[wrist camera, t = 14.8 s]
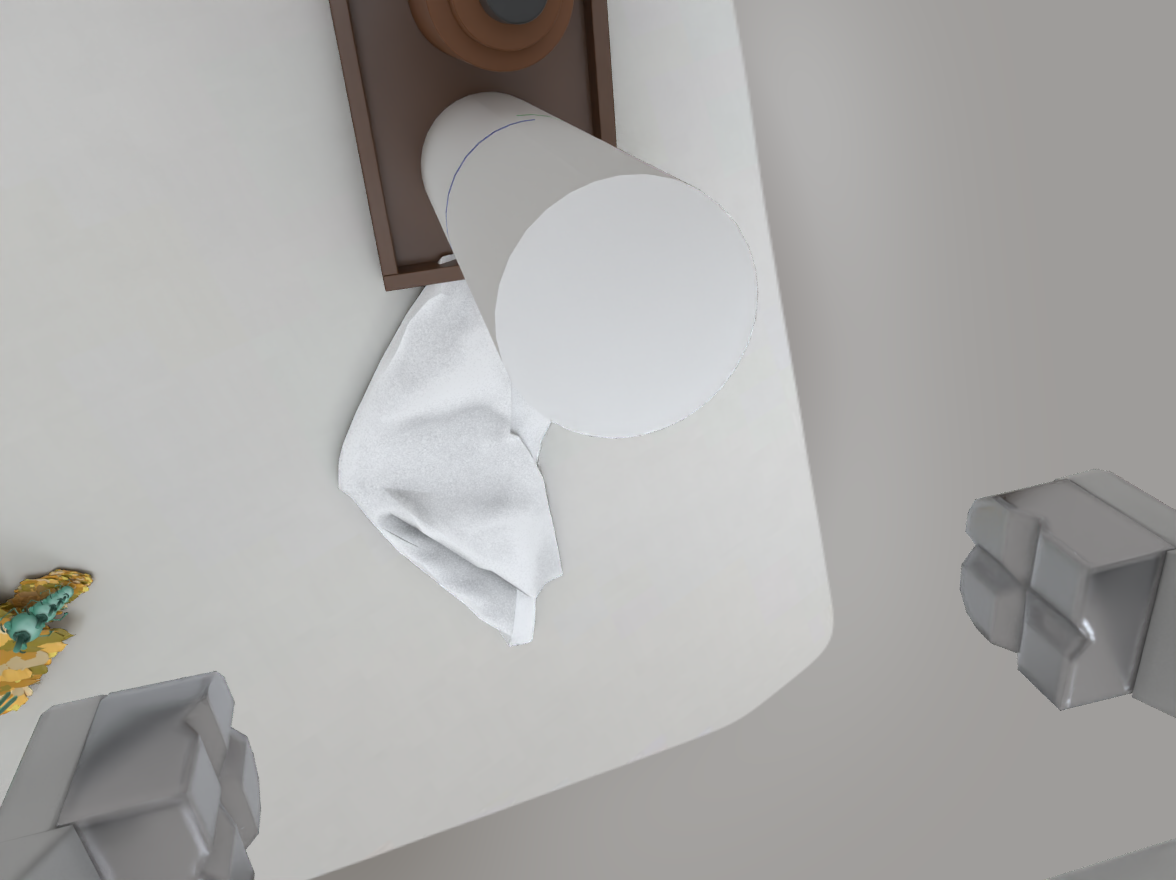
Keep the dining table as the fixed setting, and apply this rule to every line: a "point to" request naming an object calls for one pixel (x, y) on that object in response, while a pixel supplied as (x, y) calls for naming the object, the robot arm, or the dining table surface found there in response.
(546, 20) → the brown bottle
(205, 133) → the dining table surface
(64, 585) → the frog figurine
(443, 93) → the tray
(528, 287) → the cylindrical container
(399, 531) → the cloth
